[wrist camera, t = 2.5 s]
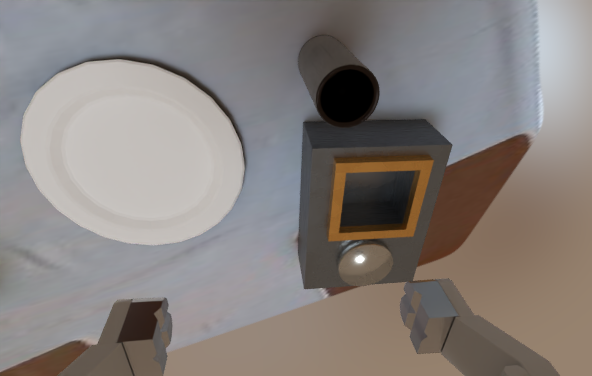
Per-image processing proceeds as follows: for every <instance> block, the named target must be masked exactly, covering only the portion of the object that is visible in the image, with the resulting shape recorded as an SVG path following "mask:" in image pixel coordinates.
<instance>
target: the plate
mask: <svg viewBox="0 0 592 376" xmlns="http://www.w3.org/2000/svg"><path fill="white" fill-rule="evenodd" d="M20 142H21V147H22V151H23V156H24V160H25V165H26V167H27V169H28V171H29V173H30V175H31V177H32V178H33V180H34V182H35V184H36V186H37V188H38V189H39V191H40V192H41V193H42V194H43V195H44V196H45V197H46V198H47V199H48V200H49V201H50V203H51V204H52V205H53V206H54V207H55V208H56V209H57V210H58V211H60V212H61V213H62V214H64V215H65V216H67V217H68V218H69V219H71V220H72V221H73V222H75V223H76V224H78V225H79V226H81V227H83V228H85V229H88V230H90V231H92V232H94V233H96V234H98V235H101V236H103V237H106V238H110V239H114V240H118V241H121V242H125V243H129V244H143V245H161V244H169V243H178V242H181V241H184V240H187V239H190V238H193V237H196V236H199V235H201V234H202V233H204V232H206V231H207V230H209V229H210V228H212V227H213V226H215V225H217V224H218V223H219V222H220V221H221V220H222V219H223V218H224V217H225V216H226V215H227V213H228V212H229V211H230V210H231V209H232V208H233V206H234V204H235V202H236V200H237V198H238V196H239V194H240V192H241V190H242V184H243V177H244V171H245V164H244V158H243V152H242V145H241V142H240V140H239V137H238V135H237V133H236V131H235V129H234V127H233V125H232V123H231V120H230V119H229V118H228V116H227V115H226V114H225V113H224V112H223V110H222V109H221V108H220V107H219V106H218V104H217V103H216V102H215V101H214V100H213V98H212V97H211V96H209V95H208V94H207V93H205V92H204V91H203V90H201V89H200V88H198V87H197V86H196V85H194V84H193V83H192V82H190V81H189V80H188V79H186V78H185V77H182V76H180V75H177V74H175V73H173V72H170V71H168V70H166V69H163V68H161V67H159V66H156V65H154V64H148V63H142V62H136V61H130V60H124V59H112V60H101V61H89V62H85V63H83V64H80V65H77V66H75V67H72V68H70V69H67V70H65V71H62V72H60V73H57V74H56V75H55V76H54V77H53V78H51V79H50V80H49V81H48V82H47V83H46V84H44V85H43V86H42V87H41V88H40V89H39V90H37V91H36V93H35V94H34V96H33V98H32V100H31V102H30V104H29V105H28V107H27V109H26V111H25V113H24V115H23V122H22V130H21V138H20Z"/></svg>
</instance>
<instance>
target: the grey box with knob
mask: <svg viewBox="0 0 592 376" xmlns="http://www.w3.org/2000/svg"><path fill="white" fill-rule="evenodd" d="M451 148H452V144H451V143H450V142H449V141H448V140H447V139H446V138H445V137H444V136H443V135H441V134H440V133H439V132H438V131H437V130H436V129H435V128H434V127H433V126H432V125H431V124H430V123H428V122H427V121H426V120H376V121H363V122H362V123H360V124H358V125H356V126H353V127H348V128H339V127H335V126H332V125H330V124H328V123H327V122H303V142H302V166H301V190H300V214H299V239H298V256H299V262H300V268H301V274H302V280H303V285H304V289H314V288H328V287H342V286H366V285H371V284H383V283H397V282H407V281H413V277H414V274H415V270H416V267H417V264H418V260H419V257H420V254H421V250H422V247H423V243H424V240H425V237H426V233H427V230H428V226H429V223H430V220H431V216H432V213H433V209H434V206H435V203H436V199H437V196H438V192H439V189H440V186H441V182H442V179H443V175H444V172H445V169H446V165H447V162H448V158H449V155H450V152H451Z"/></svg>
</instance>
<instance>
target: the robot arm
mask: <svg viewBox="0 0 592 376" xmlns="http://www.w3.org/2000/svg"><path fill="white" fill-rule="evenodd" d="M404 291H405V293H406V294H405V295H404V296H403V297H402V298H401V303H400V313H401V317H402V320H403V322H404V325H405V326H406V327H408V328H409V329H410V330H411V334H410V338H411V341H412V343H413V345H414V348H415V350H416V352H417V354H424V353H441V352H442V355H443V356H444V357H445V358H446V359H447V360H449V362H451V363H452V364H453V365H454V366H455V367H456V368H457V369H458V370H459V371H460V372H461V373H462V374H463V375H465V376H560V375H559V374H558V372H557V371H556V370H555V369H554V367H553V366H552V364H551V363H550V362H549V361H548V360H546V359H545V358H543V357H542V356H540V355H539V354H537V353H536V352H534V351H533V350H531V349H530V348H528V347H527V346H525V345H524V344H522V343H520V342H519V341H517V340H516V339H514V338H513V337H511V336H510V335H508V334H507V333H505V332H504V331H502V330H500V329H499V328H497V327H496V326H494V325H493V324H491V323H490V322H488V321H487V320H485V319H484V318H482V317H480V316H479V315H474V314H473V312H472V311H471V309H470V308H469V306H468V305H467V303H466V302H465V300H464V299H463V297H462V295H461V294H460V292H459V291H458V289H457V288H456V286H455V285H454V283H453V282H452V280H450V279H449V278H448V279H435V280H433V279H432V280H420V281H407V283H406V284H405V286H404ZM167 310H168V301H167V298H141V299H123V300H117V301H116V302H115V303H114V305H113V307H112V310H111V312H110V314H109V317H108V319H107V322H106V324H105V327H104V329H103V332H102V334H101V337H100V339H99V341H98V344H97V345H92V346H91V347H90V348H88V349H87V350H86V351H85V352H84V353H83V354H82V355H80V356H79V357H78V358H77V359H76V360H75V361H74V362H72V363H71V364H70V365H69V366H68V367H67V368H66V369H64V370H63V371H62V372H61V373H60V374H59V375H58V376H163V374H164V370H165V365H166V360H167V353H166V347H167V346H168V345H169V344H170V342H171V337H172V318H171V314H170V313H168V312H167Z"/></svg>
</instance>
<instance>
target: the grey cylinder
mask: <svg viewBox="0 0 592 376" xmlns="http://www.w3.org/2000/svg"><path fill="white" fill-rule="evenodd" d="M298 67H299V71H300V74H301V76H302V78H303V80H304V82H305V85H306V87H307V89H308V91H309V93H310V96H311V98H312V100H313V102H314V105H315V107H316V109H317V111H318V113H319V115H320V116H321V118H322V119H323V120H324V121H325V122H327V123H328V124H330V125H332V126H335V127H339V128H348V127H353V126H356V125H358V124H360V123H362V122H363V121H365V120H366V119H367V118H368V117H369V116H370V115H371V114H372V113H373V111H374V110H375V108H376V106H377V103H378V100H379V84H378V81H377V79H376V77H375V76H374V74H373V73H372V72H371V71H370V70H369V69H368V68H367V67H366V66H365V65H364V64H363V63H361V62H360V61H359V60H358V59H357V58H356V57H355V56H354V55H353V54H352V53H351V52H350V51H349V50H348V49H347V48H346V47H345V46H343V45H342V44H341V43H340V42H339V41H338V40H336V39H335V38H333V37H330V36H326V35H322V36H317V37H314V38H312V39H310V40H309V41H308V42H306V43H305V45H304V46H303V47H302V49H301V51H300V53H299V57H298Z"/></svg>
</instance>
